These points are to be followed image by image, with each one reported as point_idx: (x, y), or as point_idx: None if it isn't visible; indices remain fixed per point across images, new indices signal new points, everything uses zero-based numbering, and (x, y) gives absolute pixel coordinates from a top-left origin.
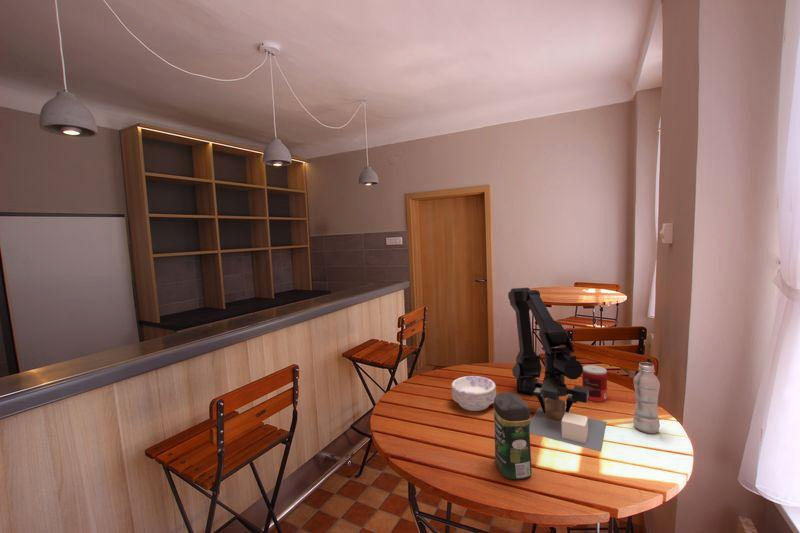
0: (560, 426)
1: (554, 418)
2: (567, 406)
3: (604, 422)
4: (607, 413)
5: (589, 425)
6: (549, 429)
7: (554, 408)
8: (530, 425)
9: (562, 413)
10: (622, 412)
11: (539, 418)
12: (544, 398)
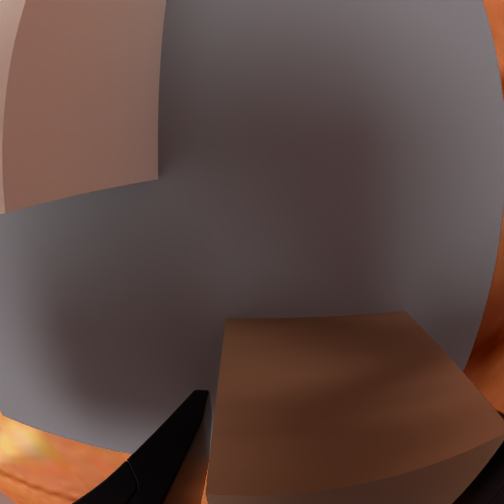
0: (221, 190)
1: (318, 326)
2: (134, 500)
3: (3, 407)
4: (65, 487)
5: (22, 345)
6: (326, 55)
7: (354, 420)
8: (488, 84)
9: (219, 395)
10: (40, 491)
11: (453, 268)
12: (463, 500)
